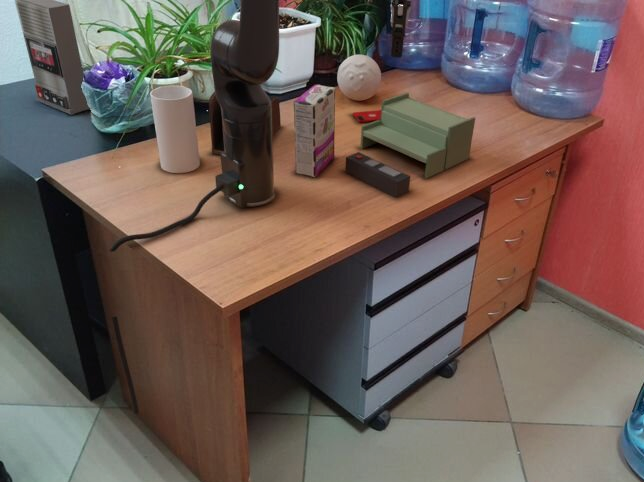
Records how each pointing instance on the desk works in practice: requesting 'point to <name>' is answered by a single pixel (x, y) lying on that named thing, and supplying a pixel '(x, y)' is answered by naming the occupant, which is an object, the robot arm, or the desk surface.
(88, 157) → the desk surface
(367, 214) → the desk surface
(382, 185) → the remote
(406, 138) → the step shelf
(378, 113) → the electronic device
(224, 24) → the robot arm
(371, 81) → the decorative ball
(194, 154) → the cup
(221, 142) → the letter holder
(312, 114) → the candy bar box
